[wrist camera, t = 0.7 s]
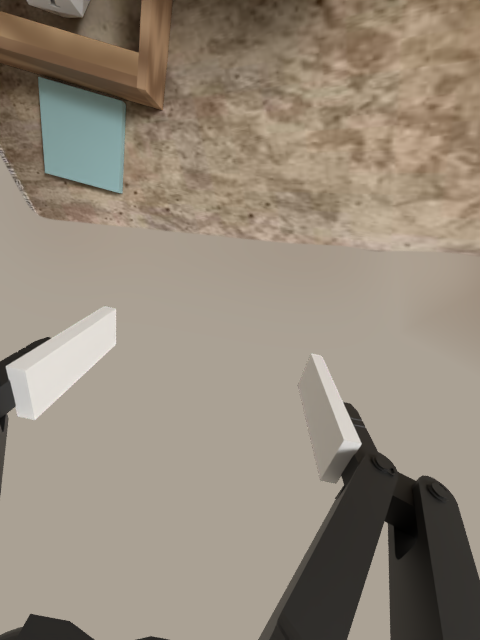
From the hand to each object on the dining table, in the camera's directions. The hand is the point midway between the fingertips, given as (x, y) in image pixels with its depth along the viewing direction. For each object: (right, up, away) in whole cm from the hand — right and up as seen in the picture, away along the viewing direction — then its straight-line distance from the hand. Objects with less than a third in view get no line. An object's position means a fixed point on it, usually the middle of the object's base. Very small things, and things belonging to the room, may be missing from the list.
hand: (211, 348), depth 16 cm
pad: (-20, +28, +18) cm, 39 cm away
